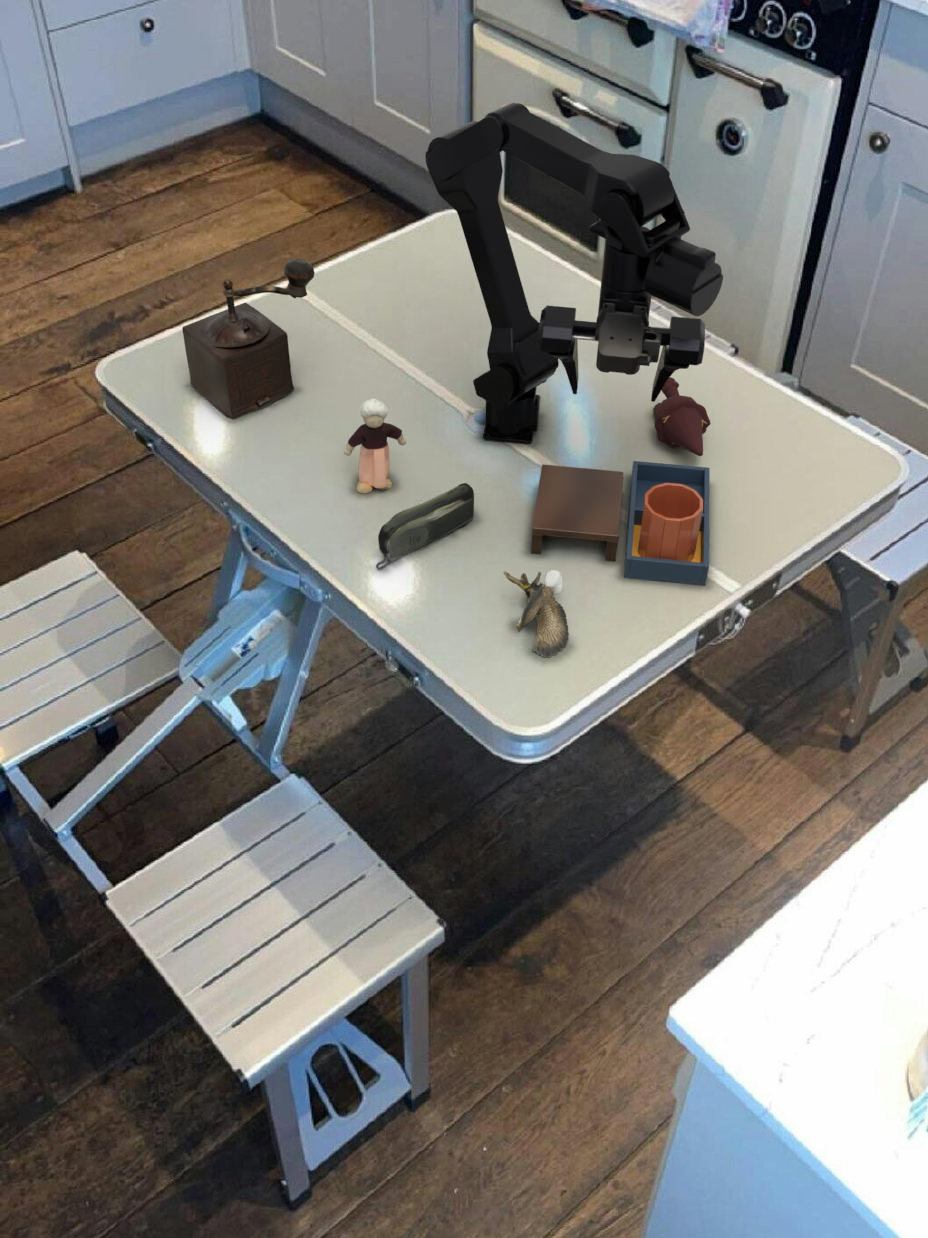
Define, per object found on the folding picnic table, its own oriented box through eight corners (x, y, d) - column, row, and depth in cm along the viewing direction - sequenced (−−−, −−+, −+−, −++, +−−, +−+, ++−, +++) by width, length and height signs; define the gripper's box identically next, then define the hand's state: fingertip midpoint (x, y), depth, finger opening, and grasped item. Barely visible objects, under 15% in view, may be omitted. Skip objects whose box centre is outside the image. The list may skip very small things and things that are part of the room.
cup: (636, 566, 150) (643, 517, 145) (639, 529, 155) (645, 480, 149) (693, 571, 149) (702, 522, 144) (694, 534, 154) (703, 485, 149)
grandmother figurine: (356, 502, 159) (350, 418, 150) (343, 484, 161) (337, 400, 152) (412, 484, 161) (410, 400, 152) (399, 467, 164) (396, 383, 155)
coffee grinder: (233, 423, 170) (215, 303, 157) (189, 385, 176) (168, 267, 163) (329, 380, 177) (319, 262, 164) (283, 345, 183) (271, 228, 170)
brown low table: (530, 553, 152) (532, 527, 150) (540, 489, 161) (542, 463, 158) (615, 561, 152) (618, 536, 149) (620, 496, 160) (623, 471, 157)
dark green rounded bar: (463, 476, 155) (365, 528, 148) (480, 488, 153) (381, 541, 146) (462, 508, 158) (366, 560, 151) (478, 520, 157) (382, 573, 149)
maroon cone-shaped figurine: (737, 433, 159) (695, 373, 170) (683, 427, 157) (645, 367, 168) (718, 480, 163) (678, 419, 174) (665, 475, 161) (628, 413, 172)
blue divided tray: (623, 577, 150) (626, 558, 148) (630, 479, 162) (633, 460, 160) (705, 585, 149) (709, 566, 147) (706, 486, 162) (709, 467, 159)
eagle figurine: (484, 599, 145) (502, 644, 138) (518, 549, 142) (538, 593, 135) (539, 621, 149) (559, 667, 141) (573, 573, 146) (595, 617, 138)
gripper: (535, 311, 137) (528, 429, 148) (712, 326, 135) (691, 445, 147) (545, 257, 145) (538, 373, 156) (713, 271, 143) (693, 388, 154)
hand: (613, 396), depth 153 cm, fingers open, 9 cm apart
